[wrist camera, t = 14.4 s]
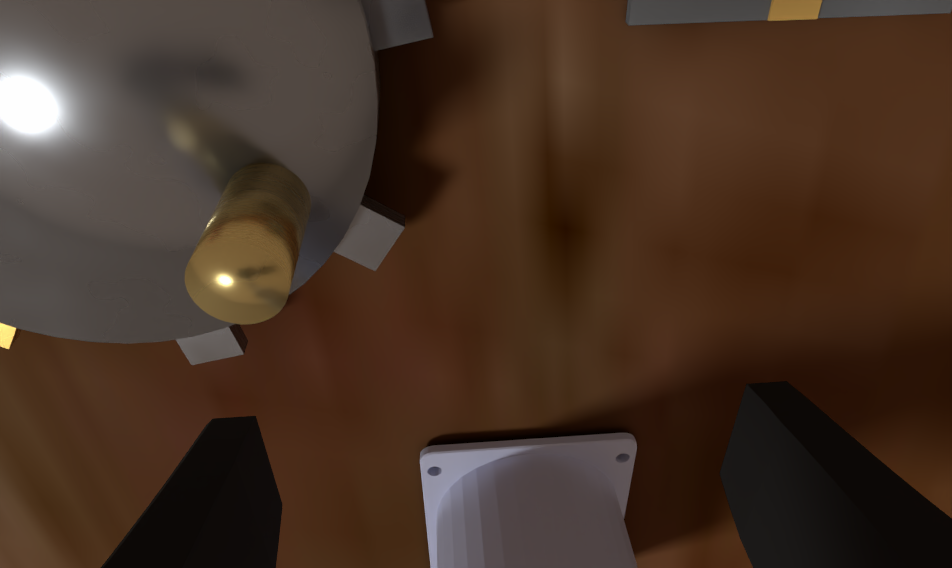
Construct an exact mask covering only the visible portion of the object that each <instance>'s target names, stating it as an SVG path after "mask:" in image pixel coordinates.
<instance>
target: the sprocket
mask: <svg viewBox="0 0 952 568" xmlns="http://www.w3.org/2000/svg"><path fill="white" fill-rule="evenodd" d="M429 38H433V29H432V25H431V21H430V16H429V12H428V8H427V4H426V0H0V346H1V347H4V348H7V349H9V348H10V347H11V346H12V344H13V343H14V342H15V340H16V339H17V338H18V336H19V335H20V332H21V329H22V330H27V331H31V332H36V333H40V334H44V335H49V336H53V337H60V338H67V339H75V340H82V341H89V342H107V343H144V342H162V341H169V340H175V339H176V341H177V343H178V344H179V346H180V347H181V349H182V351H183V352H184V354H185V355H186V357H187V359H188V360H189V362H190V363H191V365H195V364H199V363H204V362H209V361H214V360H219V359H223V358H228V357H233V356H238V355H243V354H244V352H245V349H246V346H247V343H248V340H247V338H246V336H245V334H244V332H243V330H242V329H241V327H240V325H239V324H254V323H259V322H263V321H265V320H268V319H270V318H272V317H273V316H275V315H276V314H277V313H278V312H279V311H280V310H281V309H282V308H283V307H284V305H285V303H286V301H287V298H288V295H290V294H291V293H292V292H294V291H295V290H296V289H298V288H299V287H300V286H302V285H303V284H304V283H305V282H306V281H307V280H308V279H309V278H310V277H311V276H312V275H313V274H314V273H315V272H316V271H317V270H318V269H319V268H320V267H321V266H322V265H323V264H324V263H325V262H326V261H327V259H328V258H329V257H330V255H331V254H332V253H333V251H334V252H336V253H338V254H340V255H342V256H344V257H346V258H348V259H351V260H353V261H355V262H357V263H359V264H361V265H363V266H365V267H367V268H370V269H372V270H374V271H376V269H377V268H378V266H379V265H380V263H381V262H382V260H383V259H384V257H385V256H386V254H387V253H388V252H389V250H390V249H391V247H392V246H393V244H394V243H395V241H396V240H397V238H398V237H399V235H400V234H401V232H402V231H403V229H404V228H405V216H404V215H402V214H400V213H399V212H397V211H395V210H393V209H391V208H389V207H387V206H385V205H383V204H381V203H379V202H377V201H375V200H373V199H371V198H369V197H368V196H366V195H364V192H365V189H366V186H367V183H368V180H369V177H370V172H371V167H372V161H373V156H374V151H375V145H376V139H377V130H378V122H379V106H380V83H381V81H380V70H379V59H378V50H381V49H386V48H390V47H394V46H399V45H403V44H407V43H411V42H416V41H420V40H424V39H429Z"/></svg>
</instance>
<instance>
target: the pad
mask: <svg viewBox="0 0 952 568" xmlns="http://www.w3.org/2000/svg"><path fill="white" fill-rule="evenodd" d="M951 10H952V0H628V5H627V14H626V23H627V24H628V25H651V24H677V23H703V22H729V21H755V20H768V21H779V20H805V19H817V18H833V17H859V16H885V15H911V14H937V13H951Z"/></svg>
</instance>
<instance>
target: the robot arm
mask: <svg viewBox="0 0 952 568" xmlns="http://www.w3.org/2000/svg"><path fill="white" fill-rule="evenodd" d="M636 451H637V443H636V440H635V437H634V436H633V435H632V434H629V433H609V434H594V435H579V436H565V437H550V438H535V439H521V440H506V441H491V442H477V443H462V444H447V445H433V446H428V447H426V448H424V449H423V450H422V451H421V453H420V467H421V477H422V487H423V497H424V507H425V517H426V526H427V536H428V546H429V556H430V566H431V568H638V567H637V563H636V560H635V557H634V553H633V550H632V546H631V543H630V539H629V536H628V532H627V529H626V526H625V522H624V517H625V511H626V506H627V500H628V495H629V489H630V484H631V478H632V473H633V467H634V462H635V457H636ZM720 476H721V480H722V483H723V486H724V490H725V493H726V496H727V499H728V503H729V506H730V509H731V512H732V515H733V518H734V521H735V524H736V527H737V530H738V533H739V536H740V539H741V541H742V543H743V546H744V548H745V550H746V552H747V555H748V557H749V559H750V561H751V564H752V566H753V568H952V519H951V518H950V517H949V516H948V515H946V514H945V513H944V512H943V511H941V510H940V509H939V508H937V507H936V506H935V505H934V504H932V503H931V502H930V501H929V500H927V499H926V498H925V497H924V496H923V495H921V494H920V493H919V492H918V491H916V490H915V489H914V488H913V487H911V486H910V485H909V484H908V483H907V482H905V481H904V480H903V479H902V478H900V477H899V476H898V475H897V474H896V473H894V472H893V471H892V470H891V469H890V468H888V467H887V466H886V465H885V464H884V463H882V462H881V461H880V460H879V459H878V458H876V457H875V456H874V455H873V454H872V453H871V452H869V451H868V450H867V449H866V448H865V447H864V446H862V445H861V444H860V443H859V442H858V441H856V440H855V439H854V438H853V437H852V436H851V435H849V434H848V433H847V432H846V431H845V430H844V429H842V428H841V427H840V426H839V425H838V424H837V423H835V422H834V421H833V420H832V419H831V418H830V417H828V416H827V415H826V414H825V413H824V412H823V411H821V410H820V409H819V408H818V407H817V406H816V405H814V404H813V403H812V402H811V401H810V400H809V399H807V398H806V397H805V396H804V395H803V394H801V393H800V392H799V391H798V390H797V389H795V388H794V387H793V386H792V385H791V384H789V383H788V382H787V381H784V382H769V383H753V384H746V387H745V391H744V394H743V397H742V401H741V404H740V407H739V411H738V414H737V417H736V421H735V424H734V427H733V431H732V434H731V437H730V441H729V444H728V447H727V451H726V454H725V457H724V461H723V464H722V467H721V471H720ZM281 514H282V502H281V499H280V495H279V492H278V489H277V485H276V482H275V479H274V475H273V472H272V469H271V465H270V462H269V459H268V455H267V452H266V449H265V446H264V442H263V439H262V436H261V432H260V429H259V426H258V422H257V419H256V416H248V417H233V418H217V419H212V420H211V421H210V422H209V423H208V424H207V425H206V426H205V428H204V429H203V431H202V432H201V434H200V435H199V436H198V438H197V439H196V441H195V442H194V443H193V445H192V446H191V448H190V449H189V451H188V452H187V453H186V455H185V456H184V458H183V459H182V460H181V462H180V463H179V465H178V466H177V467H176V469H175V470H174V472H173V473H172V474H171V476H170V477H169V479H168V480H167V481H166V483H165V484H164V485H163V487H162V488H161V490H160V491H159V492H158V494H157V495H156V496H155V498H154V499H153V500H152V502H151V503H150V505H149V506H148V507H147V509H146V510H145V511H144V513H143V514H142V515H141V516H140V518H139V519H138V520H137V522H136V523H135V524H134V526H133V527H132V528H131V529H130V531H129V532H128V533H127V535H126V536H125V537H124V539H123V540H122V541H121V543H120V544H119V545H118V546H117V548H116V549H115V550H114V552H113V553H112V554H111V556H110V557H109V558H108V559H107V561H106V562H105V563H104V564H103V566H102V567H101V568H276V560H277V551H278V543H279V533H280V524H281Z"/></svg>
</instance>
